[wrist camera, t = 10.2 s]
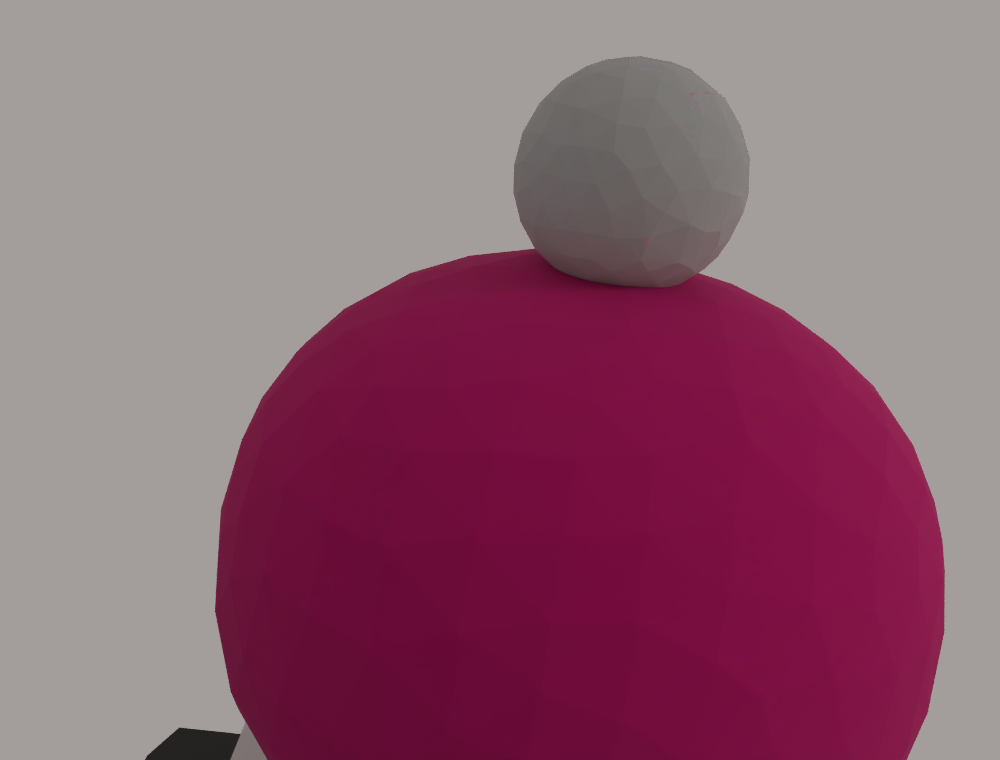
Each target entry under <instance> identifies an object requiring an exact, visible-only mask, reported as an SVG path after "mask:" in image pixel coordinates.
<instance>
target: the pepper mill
mask: <svg viewBox="0 0 1000 760" xmlns="http://www.w3.org/2000/svg"><path fill="white" fill-rule="evenodd" d="M749 159H750V158H749V154H748V151H747V147H746V144H745V140H744V136H743V133H742V129H741V126H740V124H739V122H738V120H737V119H736V117H735V115H734V113H733V112H732V110H731V108H730V106H729V105H728V103H727V101H726V99H725V98H724V97H723V96H722V95H721V94H719V93H718V92H717V91H716V90H714V89H713V88H712V87H711V86H710V85H709V84H707V83H706V82H705V81H704V80H703V79H701V78H700V77H699V76H698V75H696V74H695V73H694V72H693V71H692V70H690V69H688V68H685V67H683V66H680V65H677V64H675V63H672V62H668V61H662V60H657V59H652V58H647V57H624V58H616V59H608V60H604V61H601V62H598V63H595V64H592V65H589V66H586V67H585V68H583V69H581V70H580V71H578V72H576V73H574V74H573V75H571V76H569V77H568V78H566V79H565V80H563V81H561V82H560V84H558V85H557V86H556V87H555V88H554V89H553V90H552V91H551V92H550V93H549V94H548V95H547V96H546V97H545V98H544V99H543V100H542V101H541V102H540V103H539V105H538V107H537V109H536V110H535V112H534V114H533V115H532V117H531V119H530V121H529V122H528V124H527V126H526V127H525V129H524V131H523V133H522V137H521V141H520V145H519V149H518V153H517V156H516V160H515V164H514V196H515V200H516V204H517V208H518V212H519V216H520V221H521V223H522V225H523V227H524V229H525V230H526V232H527V234H528V236H529V238H530V240H531V242H532V244H533V246H534V247H535V249H529V250H520V251H511V252H501V253H491V254H482V255H473V256H467V257H464V258H461V259H457V260H454V261H451V262H447V263H443V264H440V265H437V266H434V267H430V268H426V269H423V270H420V271H417V272H413V273H410V274H408V275H406V276H404V277H402V278H401V279H399V280H397V281H395V282H393V283H391V284H390V285H388V286H386V287H384V288H382V289H380V290H379V291H377V292H375V293H373V294H371V295H370V296H367V297H366V298H364V299H362V300H360V301H358V302H356V303H355V304H353V305H351V306H349V307H347V308H345V309H344V310H343V311H342V312H340V313H339V314H338V315H337V316H336V317H335V318H334V319H332V320H331V321H330V322H329V323H328V324H327V325H326V326H324V327H323V328H322V329H321V330H320V331H319V332H318V333H316V334H315V335H314V336H313V337H312V338H311V339H310V340H308V341H307V342H306V343H305V344H304V345H303V346H302V347H301V348H300V349H299V350H298V351H297V352H296V354H295V355H294V356H293V358H292V359H291V361H290V362H289V363H288V364H287V366H286V367H285V368H284V370H283V371H282V372H281V374H280V375H279V376H278V377H277V379H276V380H275V381H274V383H273V384H272V386H271V387H270V388H269V390H268V391H267V392H266V394H265V395H264V396H263V397H262V399H261V401H260V403H259V405H258V408H257V410H256V412H255V414H254V416H253V418H252V420H251V422H250V424H249V426H248V429H247V431H246V433H245V435H244V437H243V439H242V442H241V445H240V448H239V451H238V455H237V458H236V462H235V465H234V468H233V471H232V475H231V478H230V482H229V485H228V489H227V492H226V495H225V498H224V502H223V505H222V508H221V519H220V534H219V551H218V568H217V587H216V605H215V613H216V617H217V623H218V628H219V633H220V638H221V643H222V648H223V654H224V658H225V664H226V669H227V674H228V679H229V684H230V690H231V693H232V695H233V698H234V700H235V702H236V705H237V707H238V709H239V711H240V713H241V714H242V716H243V718H244V719H245V721H246V723H247V725H248V727H249V728H250V730H251V732H252V734H253V735H254V737H255V739H256V741H257V743H258V744H259V746H260V748H261V750H262V751H263V753H264V755H265V757H266V758H267V760H907V758H908V755H909V753H910V751H911V749H912V746H913V744H914V742H915V740H916V737H917V735H918V733H919V730H920V728H921V726H922V724H923V722H924V719H925V717H926V715H927V712H928V708H929V703H930V698H931V693H932V689H933V684H934V679H935V674H936V669H937V664H938V659H939V655H940V650H941V645H942V640H943V635H944V574H945V570H944V557H943V546H942V545H943V544H942V537H941V532H940V527H939V523H938V517H937V512H936V507H935V502H934V499H933V497H932V494H931V491H930V489H929V486H928V483H927V481H926V478H925V475H924V473H923V470H922V468H921V465H920V462H919V460H918V457H917V454H916V452H915V449H914V447H913V445H912V443H911V442H910V440H909V439H908V437H907V435H906V434H905V432H904V431H903V429H902V428H901V427H900V425H899V424H898V422H897V421H896V419H895V418H894V416H893V415H892V413H891V412H890V410H889V409H888V407H887V406H886V404H885V403H884V401H883V400H882V398H881V397H880V395H879V394H878V392H877V391H876V389H875V388H874V386H873V385H872V384H871V383H870V382H869V381H868V380H867V379H865V378H864V377H863V376H862V375H861V374H860V373H859V372H858V371H857V370H856V369H855V368H854V367H853V366H852V365H851V364H850V363H849V362H848V361H847V360H846V359H845V358H844V357H843V356H842V355H841V354H840V353H839V352H838V351H837V350H835V349H834V348H833V347H832V346H831V345H829V344H828V343H827V342H825V341H824V340H823V339H822V338H820V337H819V336H817V335H816V334H815V333H813V332H812V331H811V330H809V329H808V328H807V327H805V326H804V325H802V324H801V323H800V322H799V321H797V320H796V319H794V318H793V317H792V316H790V315H789V314H788V313H786V312H785V311H784V310H782V309H780V308H778V307H776V306H774V305H772V304H770V303H768V302H766V301H764V300H762V299H760V298H758V297H756V296H754V295H752V294H750V293H749V292H747V291H745V290H742V289H741V288H739V287H737V286H734V285H733V284H730V283H727V282H724V281H721V280H718V279H715V278H712V277H708V276H705V275H702V274H699V272H700V271H702V270H703V269H705V268H706V267H707V266H708V265H709V264H710V263H711V262H712V261H713V260H714V259H716V258H717V257H718V255H719V254H720V253H721V251H722V250H723V248H724V247H725V245H726V244H727V243H728V241H729V240H730V238H731V236H732V234H733V232H734V230H735V228H736V226H737V224H738V222H739V220H740V218H741V216H742V214H743V212H744V208H745V205H746V201H747V197H748V189H749V161H750V160H749Z"/></svg>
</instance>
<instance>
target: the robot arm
mask: <svg viewBox="0 0 1000 760" xmlns="http://www.w3.org/2000/svg"><path fill="white" fill-rule="evenodd" d="M145 760H267V758H266V757H265V755H264V753H263V751H262V750H261V748H260V746H259V744H258V743H257V741H256V739H255V737H254V735H253V734H252V732H251V730H250V728H249V727H248V725H247V723H245V725H244V727H243V730H242V732H241V734H234V733H225V732H215V731H205V730H196V729H187V728H179V729H177V730H176V731H175V732H174V733H173V734H172V735H170V736H169V737H168V738H167V739H166V740H165V741H164V742H162V744H160V745H159V746H158V747H157V748H156V749H155V750H153V751H152V752H151V753H150V754H149V755H148V756H147V757H146V759H145Z"/></svg>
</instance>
